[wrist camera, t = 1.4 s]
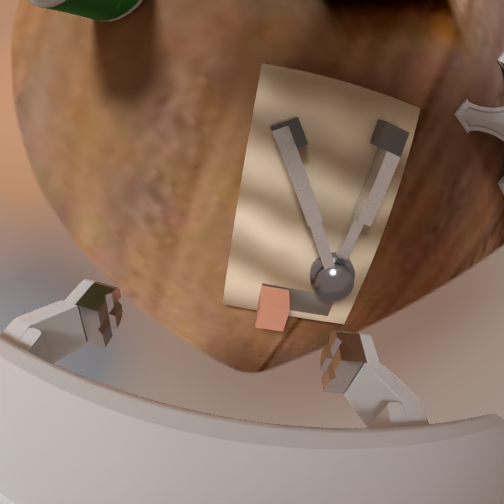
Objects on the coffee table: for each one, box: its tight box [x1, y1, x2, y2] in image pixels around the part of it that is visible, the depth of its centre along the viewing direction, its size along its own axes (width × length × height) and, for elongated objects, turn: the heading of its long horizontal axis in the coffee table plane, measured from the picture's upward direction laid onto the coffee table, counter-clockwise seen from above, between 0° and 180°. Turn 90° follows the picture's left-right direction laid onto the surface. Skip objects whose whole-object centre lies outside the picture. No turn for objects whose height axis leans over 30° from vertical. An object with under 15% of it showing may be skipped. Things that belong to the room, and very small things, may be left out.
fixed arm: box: [310, 119, 409, 290], centre depth 27 cm, size 19×5×2 cm, turn 164°
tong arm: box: [270, 116, 354, 301], centre depth 27 cm, size 18×4×2 cm, turn 22°
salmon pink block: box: [255, 285, 290, 332], centre depth 31 cm, size 3×3×4 cm
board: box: [222, 63, 420, 324], centre depth 29 cm, size 26×15×2 cm, turn 170°
